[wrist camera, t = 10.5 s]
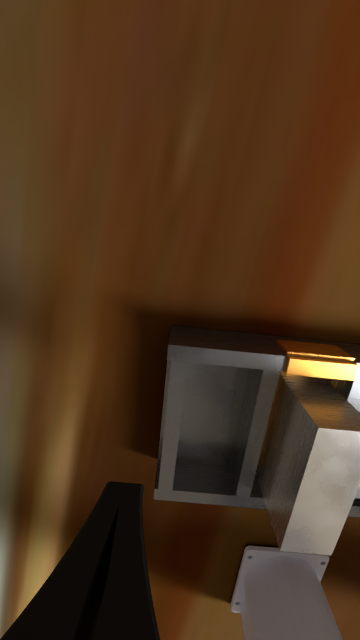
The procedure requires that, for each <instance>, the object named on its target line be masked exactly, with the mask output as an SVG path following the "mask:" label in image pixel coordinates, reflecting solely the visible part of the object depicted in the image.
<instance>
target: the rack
mask: <svg viewBox="0 0 360 640" xmlns="http://www.w3.org/2000/svg"><path fill="white" fill-rule="evenodd" d="M280 371H282V372H285V373H286V374H289V375H299V376H310V377H320V378H325V379H326V380H327V381H328V382H329V383H330V384H331V385H332V386H333V387H334V388H335V389H336V390H337V391H338V392H339V393H340V394H341V395H342V396H343V397H344V398H345V399H346V400H347V401H348V402H349V403H350V404H351V405H352V406H353V407H354V408H355V409H356V410H357V411H358V412H359V413H360V344H354V343H344V342H334V341H324V340H314V339H303V338H293V337H283V336H273V335H263V334H253V333H243V332H233V331H223V330H213V329H203V328H193V327H183V326H173V325H171V329H170V336H169V343H168V353H167V370H166V381H165V391H164V402H163V412H162V422H161V433H160V443H159V454H158V464H157V472H156V481H155V490H154V499H155V500H166V501H178V502H190V503H201V504H213V505H224V506H236V507H247V508H259V509H267V508H266V505H265V502H264V498H263V495H262V492H261V489H260V486H259V482H258V479H257V476H256V469H257V465H258V461H259V457H260V453H261V449H262V444H263V440H264V436H265V432H266V428H267V424H268V420H269V416H270V412H271V407H272V403H273V399H274V395H275V391H276V387H277V383H278V379H279V375H280ZM348 516H352V517H360V487H359V489H358V492H357V494H356V496H355V499H354V501H353V504H352V506H351V509H350V511H349V514H348Z"/></svg>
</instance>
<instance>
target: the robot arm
mask: <svg viewBox="0 0 360 640" xmlns="http://www.w3.org/2000/svg"><path fill="white" fill-rule="evenodd" d="M143 493H144V486H143V485H142V484H133V483H122V482H108V483H107V484H106V486H105V488H104V490H103V492H102V494H101V496H100V498H99V500H98V502H97V503H96V505H95V507H94V509H93V510H92V512H91V514H90V516H89V517H88V519H87V521H86V522H85V524H84V525H83V527H82V528H81V530H80V532H79V533H78V535H77V536H76V538H75V540H74V541H73V543H72V544H71V546H70V547H69V549H68V550H67V552H66V553H65V554H64V556H63V557H62V559H61V560H60V562H59V563H58V565H57V566H56V567H55V569H54V570H53V572H52V573H51V575H50V576H49V577H48V579H47V580H46V582H45V583H44V584H43V586H42V587H41V588H40V590H39V591H38V592H37V594H36V595H35V596H34V598H33V599H32V600H31V602H30V603H29V604H28V605H27V607H26V608H25V609H24V611H23V612H22V613H21V614H20V616H19V617H18V618H17V619H16V621H15V622H14V623H13V624H12V626H11V627H10V628H9V629H8V630H7V632H6V633H5V634H4V635H3V637H2V638H1V639H0V640H160V637H159V632H158V627H157V622H156V617H155V612H154V607H153V601H152V595H151V589H150V583H149V576H148V569H147V562H146V554H145V544H144V534H143V514H142V506H143ZM328 562H329V556H328V555H321V554H309V553H297V552H285V551H280V550H279V548H273V547H261V546H247V547H246V548H245V550H244V554H243V558H242V562H241V566H240V570H239V574H238V577H237V581H236V585H235V589H234V593H233V597H232V601H231V610H232V611H233V612H237V613H241V618H242V625H243V631H244V638H245V640H343V639H342V636H341V634H340V631H339V629H338V626H337V624H336V621H335V619H334V616H333V614H332V611H331V609H330V606H329V604H328V601H327V599H326V596H325V594H324V591H323V589H322V586H321V584H320V582H321V579H322V577H323V574H324V572H325V569H326V567H327V564H328Z"/></svg>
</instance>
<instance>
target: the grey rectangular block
mask: <svg viewBox="0 0 360 640" xmlns="http://www.w3.org/2000/svg"><path fill="white" fill-rule="evenodd" d="M256 476H257V479H258V482H259V486H260V489H261V492H262V495H263V498H264V502H265V505H266V508H267V511H268V515H269V518H270V521H271V524H272V528H273V531H274V534H275V537H276V540H277V544H278V547H279V550H280V551H285V552H297V553H309V554H321V555H332V553H333V551H334V548H335V546H336V543H337V541H338V538H339V536H340V533H341V531H342V528H343V526H344V524H345V521H346V519H347V516H348V514H349V511H350V509H351V506H352V504H353V501H354V499H355V496H356V494H357V492H358V489H359V487H360V413H359V412H358V411H357V410H356V409H355V408H354V407H353V406H352V405H351V404H350V403H349V402H348V401H347V400H346V399H345V398H344V397H343V396H342V395H341V394H340V393H339V392H338V391H337V390H336V389H335V388H334V387H333V386H332V385H331V384H330V383H329V382H328V381H327V380H326V379H325V378H320V377H310V376H299V375H289V374H286V373H285V372H282V371H280V375H279V379H278V383H277V387H276V391H275V395H274V399H273V403H272V407H271V412H270V416H269V420H268V424H267V428H266V432H265V436H264V440H263V444H262V449H261V453H260V457H259V461H258V465H257V469H256Z"/></svg>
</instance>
